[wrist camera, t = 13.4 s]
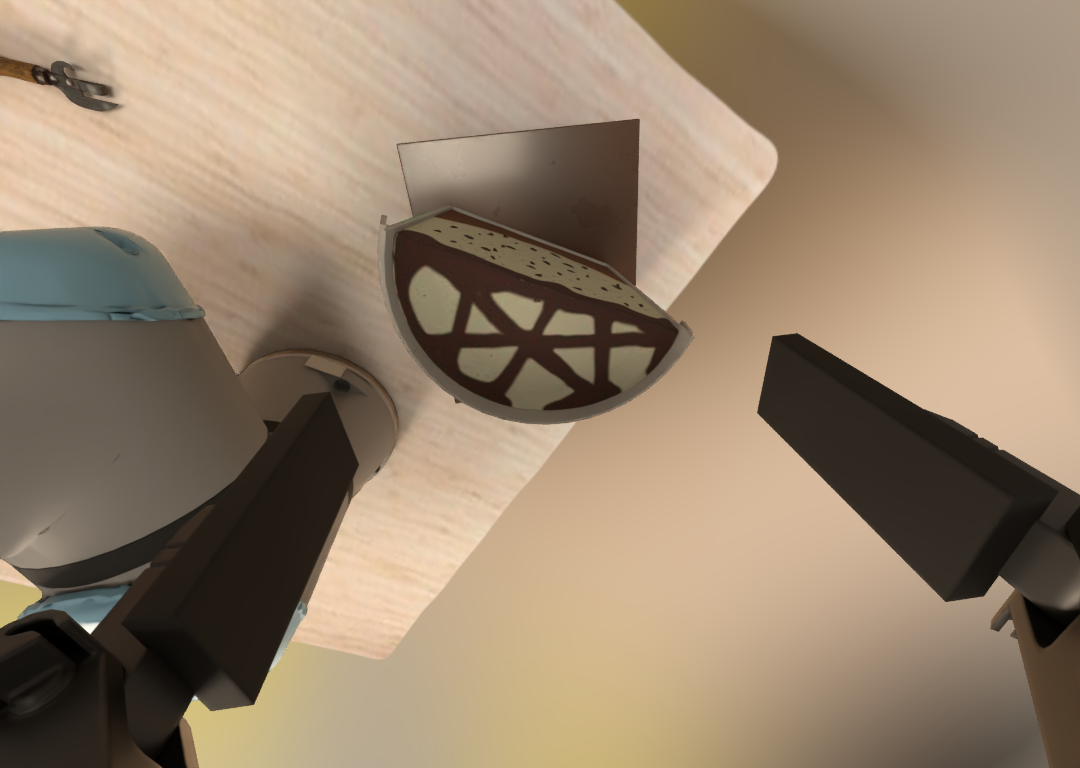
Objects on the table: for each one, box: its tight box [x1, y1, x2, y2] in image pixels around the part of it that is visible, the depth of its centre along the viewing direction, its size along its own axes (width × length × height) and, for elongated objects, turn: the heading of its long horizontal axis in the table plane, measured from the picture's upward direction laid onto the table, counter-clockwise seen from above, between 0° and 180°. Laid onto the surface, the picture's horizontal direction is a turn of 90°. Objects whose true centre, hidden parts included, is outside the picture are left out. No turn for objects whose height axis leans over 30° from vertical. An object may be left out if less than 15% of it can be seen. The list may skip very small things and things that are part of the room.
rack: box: [397, 119, 640, 403], centre depth 29 cm, size 12×15×12 cm
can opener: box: [0, 57, 118, 111], centre depth 26 cm, size 9×2×1 cm, turn 71°
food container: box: [378, 205, 694, 424], centre depth 20 cm, size 12×6×10 cm, turn 70°
